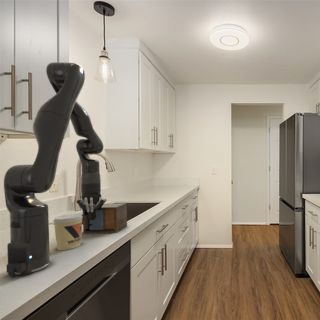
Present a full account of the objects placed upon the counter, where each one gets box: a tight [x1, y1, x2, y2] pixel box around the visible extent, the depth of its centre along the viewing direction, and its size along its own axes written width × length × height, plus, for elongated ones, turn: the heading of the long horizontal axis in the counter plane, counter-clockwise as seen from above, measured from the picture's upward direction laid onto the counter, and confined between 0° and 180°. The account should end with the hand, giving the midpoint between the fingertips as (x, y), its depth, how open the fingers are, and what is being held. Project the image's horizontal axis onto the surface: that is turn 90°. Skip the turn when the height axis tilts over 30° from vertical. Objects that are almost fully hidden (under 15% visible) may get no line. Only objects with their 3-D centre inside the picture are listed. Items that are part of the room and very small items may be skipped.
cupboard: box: [82, 202, 128, 234], centre depth 116 cm, size 10×16×12 cm, turn 89°
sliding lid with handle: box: [85, 210, 104, 230], centre depth 110 cm, size 5×7×9 cm
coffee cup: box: [53, 213, 83, 251], centre depth 94 cm, size 9×9×12 cm
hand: (92, 219), depth 108 cm, fingers closed
